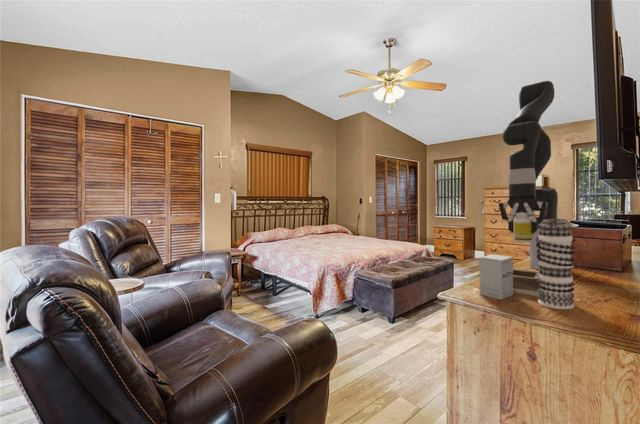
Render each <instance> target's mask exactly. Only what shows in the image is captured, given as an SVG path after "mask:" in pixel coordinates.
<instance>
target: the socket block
mask: <svg viewBox="0 0 640 424" xmlns="http://www.w3.org/2000/svg"><path fill="white" fill-rule="evenodd" d="M539 272H540V271H535V270H526V269H525V270H524V269H516V268H513V294H521V295H526V296H532V297H538V294H539V293H538V289H539V287H538V284H539V282H538V278H539Z"/></svg>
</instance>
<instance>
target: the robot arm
mask: <svg viewBox="0 0 640 424" xmlns="http://www.w3.org/2000/svg"><path fill="white" fill-rule="evenodd" d="M554 98H555V86H554V83H553V82H552V81H551V80H545V81H540V82H535V83H532V84H531V83H530V84H528V85H524V86H522V87H520V89H519V92H518V103H519V112H518V114H517V116H516V117H515V118H514V119H513V120H511V122H509V123H508V124H506V126H505V128H504V129H503V133H502V140H503V142H504V143H505V144H506V145H507V146H517V145H520V146H521V145H522V149H520V150H518V151H515V152H512V153H511V154H510V155H509V173H508V200H507V201H506V202H500V203H498V207H499V211H500V215H501V219H502V221H503V220H504V221H506V222H507V223H508V231H509V232H510V233H512V234H513V220H514V219H515V217H516V213H521V212H523V213H528V214H529V216H530V217H529V218H530V219H531V220H532V242H529V267H530V268H532V269H535V270H539V271H540V265H539V264H538V261H540V260H538V258H537V255H538V254H537V250H538V249H539V248H538V247H536V243H538V242H536V238H538V237H539V225H538V224H540V223H541V222H542V221H543V220H545V219H558V216H557V214H558V213H557V212H558V192H557V190H556V189H555V188H537V187H536V186H537V184H536V183H537V180H538V178H539V176H540V174H541V172H542V171H543V170H544V168H545V167H546V165H548V162H549V161H550V159H551V156H552V143H551V142H552V141H551V137H549V135H548V134H547V132H545V130H543V128H542V126H541V125H540V120H541V117H542V115H543V114H544V113H545V111H546V110H548V108H549V107H550V106H551V105H552V103H553V101H554ZM508 206H509V207H510V209H511V211H510V214H509V215H507V210H506V209H507V208H508ZM535 212H539V215H538V216H537V215H536V213H535Z"/></svg>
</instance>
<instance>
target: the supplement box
mask: <svg viewBox="0 0 640 424" xmlns="http://www.w3.org/2000/svg"><path fill="white" fill-rule="evenodd" d="M513 259H514V257H513V256H509V255H500V254H487V255H484V256H480V257H479V258H478V260H479V261H478V264H479V265H478V266H479V267H478V268H479V269H478V271H479V295H482V296H484V297H485V296H486V297H490V298H493V299H497V300H501V301H502V300H504V299H506V298H508V297H510V296H513V295H514V293H513V269H514V260H513Z"/></svg>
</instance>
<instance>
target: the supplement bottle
mask: <svg viewBox="0 0 640 424" xmlns="http://www.w3.org/2000/svg"><path fill="white" fill-rule="evenodd" d="M515 217H516V218H514V219H513V233H512V237H513V239H512V241H513V242H517V243H530V242H532V219H531V217H530V216H529V214H528V213H523V212H521V213H516V215H515Z"/></svg>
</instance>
